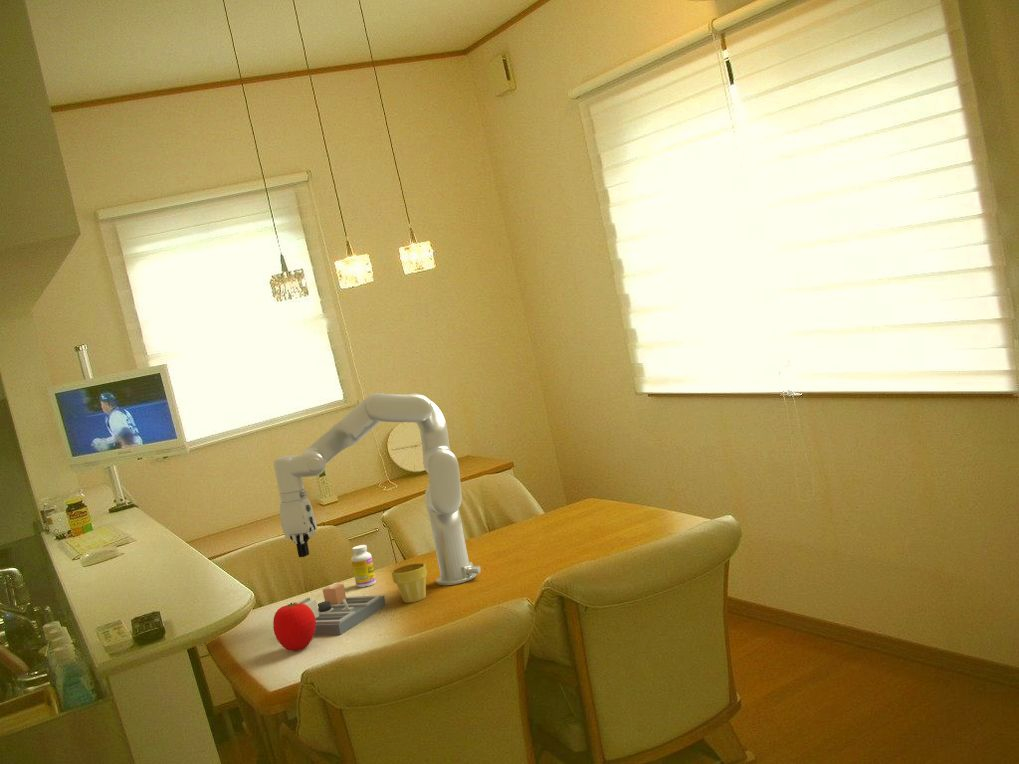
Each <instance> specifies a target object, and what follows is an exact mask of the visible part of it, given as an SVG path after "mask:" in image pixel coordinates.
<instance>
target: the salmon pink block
mask: <svg viewBox="0 0 1019 764" xmlns="http://www.w3.org/2000/svg"><path fill="white" fill-rule="evenodd" d="M322 594H323V598H324V601H330V604H331V605H333V604H341V603H342V602H343V601H342V600H343V599H345V600H346V597H347V595H346V591H345V585H344V583H338V582H334V583H332V584H330V585H328V586H326V587H325V588H322Z"/></svg>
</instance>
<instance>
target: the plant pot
mask: <svg viewBox="0 0 1019 764" xmlns="http://www.w3.org/2000/svg"><path fill="white" fill-rule="evenodd" d="M391 575H392V580H393V583H394V584H396V587H397V588H398V591H399V593H400V595H401V598H402V600H403V602H404V603H416V602H419V601H423V600H424V599H425V598H426V597H427V595H426V594H427V593H426V591H427V590H426V589H427V588H426V587H427V586H426V584H427V583H426V578H427V575H428V570H427V565H426V563H424V562H414V563H408V564H405V565H401V566H399V567H396V568H394V569H393V570H391Z"/></svg>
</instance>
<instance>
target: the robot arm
mask: <svg viewBox="0 0 1019 764" xmlns="http://www.w3.org/2000/svg"><path fill="white" fill-rule="evenodd" d="M381 422H384V423H385V422H386V423H387V422H388V423H415V424H416V425H417V427H418V429H419V434H420V439H421V450H422V462H423V463H422V464H423V468H424V470H425V472H426V473H427V474H428V485H427V488H426V490H425V493H424V500H425V501H424V502H425V506H426V510H427V514H428V517H429V523H430V526H431V532H432V536H433V537H432V538H433V541H434V542H433V543H434V548H435V553H436V558H437V559H436V560H437V563H438V567H439V575H440V576H439V577H437V578H436V580H435V581H436V584H437V585H438V586H439V585H440V586H452V585H460V584H462V583H466V582H468V581H471V580H473V579H475V578H476V576H477V574H481V572H482V571H481V570H482V569H481V566H480V565H474V564H473V561H469V560H470V559H469V556H468V550H467V545H466V540H465V534H464V529H463V523H462V519H461V513H460V510H459V508H460V507H461V505H462V500H463V499H462V497H463V494H462V493H463V492H462V482H461V474H460V472H461V471H460V465H459V461H458V459H457V456H456V455H455V454H454V452H452V450H451V447H450V440H449V439H450V438H449V437H450V436H449V432H448V426H447V425H448V424H447V421H446V418H445V416H444V413H443V412H442V410H441V409H440V407H438V405H437V404H436V403H435V402H434V401H433V400H431V399H430V398H428V397H427V396H426V395H424V394H420V393H415V392H412V393H409V394H404V393H402V394H401V393H399V394H397V393H385V392H384V393H383V392H373V393H371V394H370V395H368V396H367V397H366V398H365V399H364V400H362V401H361V402H360V403H358V404H357V406H355V407H354V408H353V409H352V410H351V411H349V413H347V414H346V415H344V417H342V418H341V419H340V420H339V421H338V422H337V423H335V424H334V425H333V426H332V427H330V428H329V430H328V431H326V432H325V433H324V434H323V435H321V436H320V437H319V438H318V439H317V440H315V441H314V442H313V443H312V444H311V445H310V446H309V447H308V448H306V449H305V450H304V451H303V452H302V453H301V454H300V455H295V454H292V455H291V454H290V455H283V456H280V457H278V458H275V459H274V461H273V466H274V472H275V477H276V482H277V488H278V495H279V499H280V503H279V519H280V526H281V530H282V533H283V534H284V538H285V539H288V540H292V542H293V544H294V545H296V551H297V554H298V558H304V557H307V556H309V555H310V550H309V543H308V542H309V540H310V538H312V537H315V535H316V534H317V533H316V530H317V528H318V524H317V520H316V516H315V513H314V509H313V508H314V507H313V506H312V503H311V501H310V499H309V498H307V497H308V495H309V492H308V491H306V490H305V486H304V479H303V478H312V477H317V476H320V475H321V474H323V473H324V471H325V470H326V467H327V464H328V463H329V462H330V461H331V460H333V458H335V457H336V456H337V455H338V454H340V453H341V452H342V451H344V450H346V449H347V448H349V447H352V446H354V445H356V444H357V443H359V442H360V441H361V440H362V439H364V437H366V436H367V435H368V434H369V433H370V432H372V430H374V428H376V427H377V426H378V425H379V424H381Z"/></svg>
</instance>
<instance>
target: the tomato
mask: <svg viewBox="0 0 1019 764" xmlns="http://www.w3.org/2000/svg"><path fill="white" fill-rule="evenodd" d="M272 624H273V627H272V628H273V629H272V630H273V634H274V636H275V638H276V640H277V642H278V643H279V644H280V645H281V646H282V647H283V648H284V650H287V651H289V652H290V651H291V652H298V651H302V650H304V649H305V648H307V647H308V646H309V645H310V643H311V642H312V640H313V637H315V636H314V633H315V629H316V619H315V616H314V613H313V612H312V610H311V609H310V608H309V607H308V606H307V605H305V604H303V603H299V602H298V601H297V602H290V604H285V605H283V606H281V607H279V608H278V609H277V610H276V612H274V615H273V621H272Z"/></svg>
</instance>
